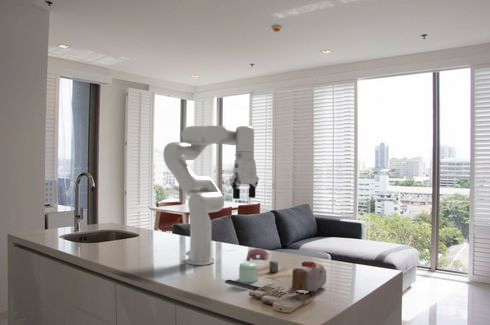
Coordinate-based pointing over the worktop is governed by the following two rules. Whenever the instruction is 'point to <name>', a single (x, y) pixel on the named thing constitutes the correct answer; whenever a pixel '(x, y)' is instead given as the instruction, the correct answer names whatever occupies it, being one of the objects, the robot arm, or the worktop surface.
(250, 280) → the cap
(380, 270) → the worktop surface
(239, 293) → the worktop surface
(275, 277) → the post stand
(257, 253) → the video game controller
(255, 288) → the mat
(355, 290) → the worktop surface
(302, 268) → the food item
